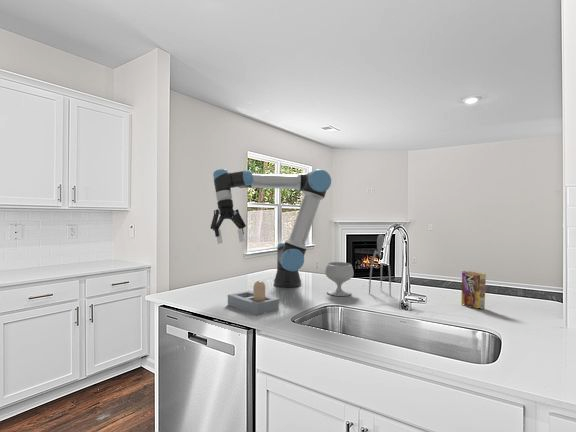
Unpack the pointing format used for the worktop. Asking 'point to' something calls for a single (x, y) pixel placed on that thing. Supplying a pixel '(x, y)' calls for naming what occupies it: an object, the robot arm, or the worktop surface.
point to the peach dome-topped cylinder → (259, 291)
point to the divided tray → (253, 303)
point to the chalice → (339, 276)
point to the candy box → (473, 289)
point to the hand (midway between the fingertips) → (231, 242)
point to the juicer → (379, 246)
